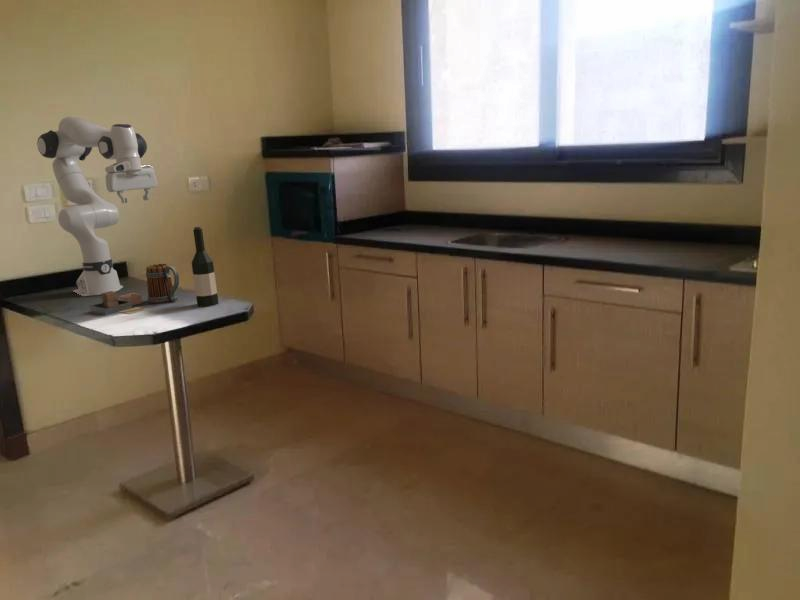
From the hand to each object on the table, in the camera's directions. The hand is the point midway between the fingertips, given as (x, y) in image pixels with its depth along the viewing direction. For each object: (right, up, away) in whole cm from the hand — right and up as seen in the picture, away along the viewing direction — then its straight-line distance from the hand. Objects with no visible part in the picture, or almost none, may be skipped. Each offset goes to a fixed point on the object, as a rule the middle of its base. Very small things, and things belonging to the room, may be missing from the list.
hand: (135, 201), depth 266 cm
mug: (+12, -40, +2) cm, 42 cm away
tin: (-6, -44, -7) cm, 45 cm away
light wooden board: (+3, -44, -10) cm, 45 cm away
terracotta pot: (-2, -41, +2) cm, 41 cm away
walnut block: (-6, -43, -7) cm, 44 cm away
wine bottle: (+31, -41, -6) cm, 51 cm away
